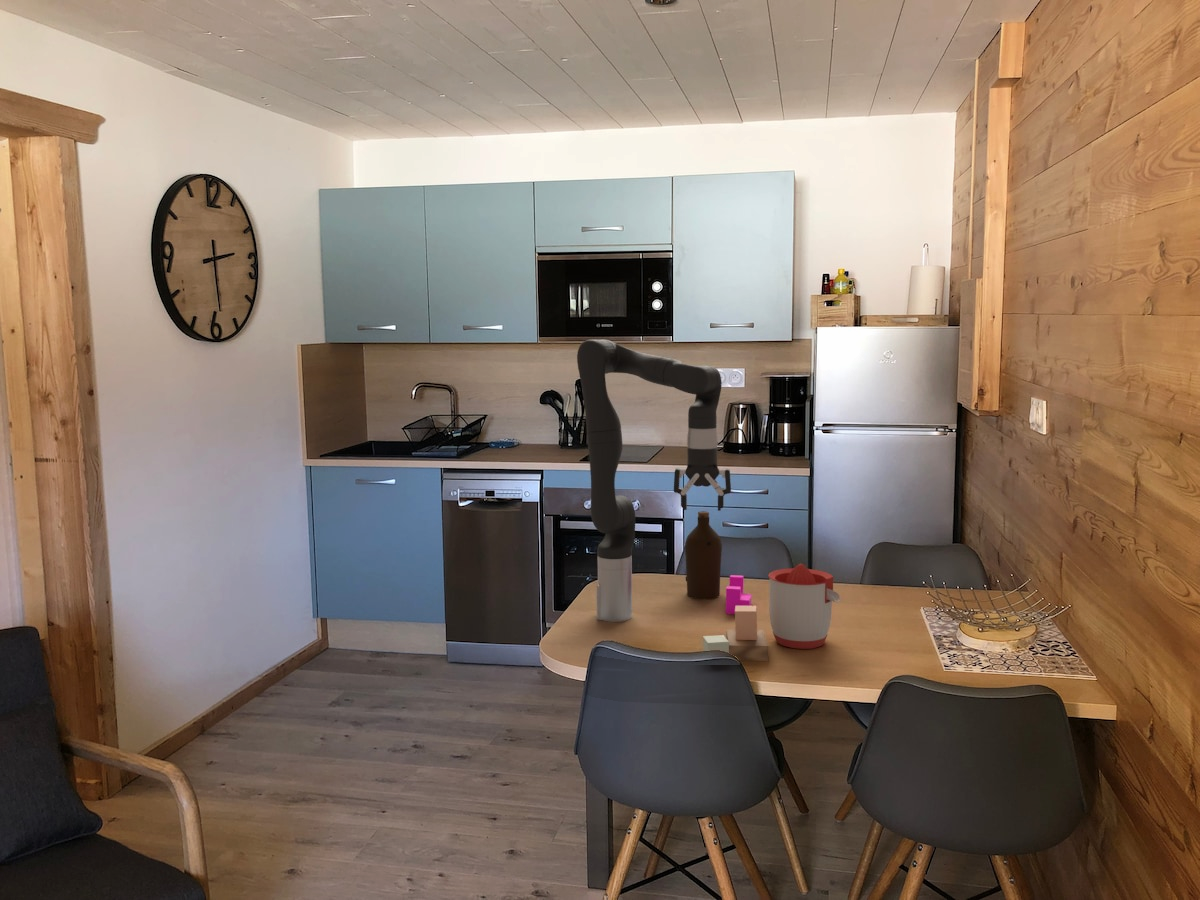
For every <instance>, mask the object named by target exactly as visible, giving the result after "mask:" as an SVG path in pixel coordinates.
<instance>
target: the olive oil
mask: <svg viewBox="0 0 1200 900" xmlns="http://www.w3.org/2000/svg"><path fill="white" fill-rule="evenodd" d="M684 542H685V543H684V550H685V551H684V552H685V565H686V566H685V570H686V572H685V573H686V574H685V582H686V594H687V597H689V598H691V599H695V600H712V599H717V598H719V597H720V593H721V592H720V591H721V570H722V569H721V567H722V566H721V565H722V553H723V552H722V550H723V549H722V548H723V543H722V540H721V537H720V535H719V534H718V533H717V532H716V531H715V529H713V527H712V526H711V524H710V512H709V511H706V510H705V511H704V510H701V511H700V510H699V511H698V512H697V525H696V526H695V527H694V528H693V529H692V531H690V533H688V535H687V537H686V539H685V541H684Z"/></svg>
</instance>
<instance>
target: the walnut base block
mask: <svg viewBox="0 0 1200 900" xmlns="http://www.w3.org/2000/svg"><path fill="white" fill-rule="evenodd" d="M725 632H726V635H725V638H726V639H727V640H728V641H729V653H730V654H732V655H734V656H736V657H737V658H738V659H739V660H738V661H759V662H760V661H761V662H762V661H764V662H766V661H767V662H768V661H769V644H768V641H767V638H766V634H765V632H764V629H757V640H736V631H735V629H726V631H725Z"/></svg>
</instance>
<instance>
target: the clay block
mask: <svg viewBox="0 0 1200 900" xmlns="http://www.w3.org/2000/svg"><path fill="white" fill-rule="evenodd" d="M757 616H758V614H757V605H751V606H735V614H734V621H735V623H734V624H735V629H734V630H735V631H736V640H757V630H758V621H757V620H758V617H757Z"/></svg>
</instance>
